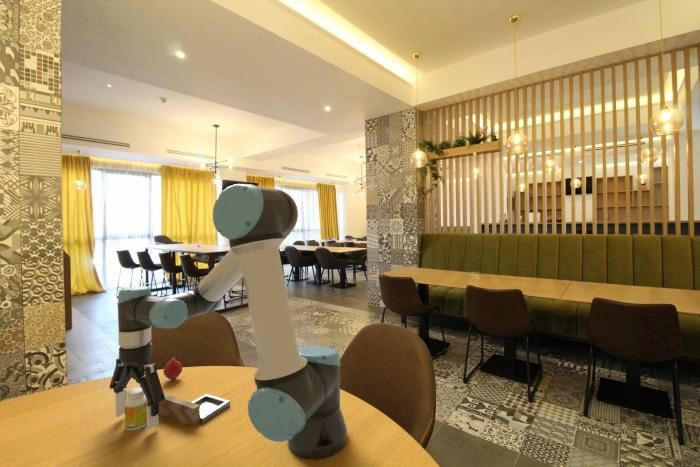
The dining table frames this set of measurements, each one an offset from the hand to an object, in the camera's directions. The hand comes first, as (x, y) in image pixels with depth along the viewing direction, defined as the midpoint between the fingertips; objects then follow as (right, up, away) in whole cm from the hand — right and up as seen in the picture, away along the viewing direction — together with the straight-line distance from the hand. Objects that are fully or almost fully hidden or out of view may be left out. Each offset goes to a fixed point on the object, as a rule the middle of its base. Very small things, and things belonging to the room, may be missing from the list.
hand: (136, 420), depth 90 cm
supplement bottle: (0, -2, 0) cm, 2 cm away
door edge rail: (+7, -1, +4) cm, 8 cm away
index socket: (+15, -1, +7) cm, 17 cm away
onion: (-4, -1, +26) cm, 27 cm away
